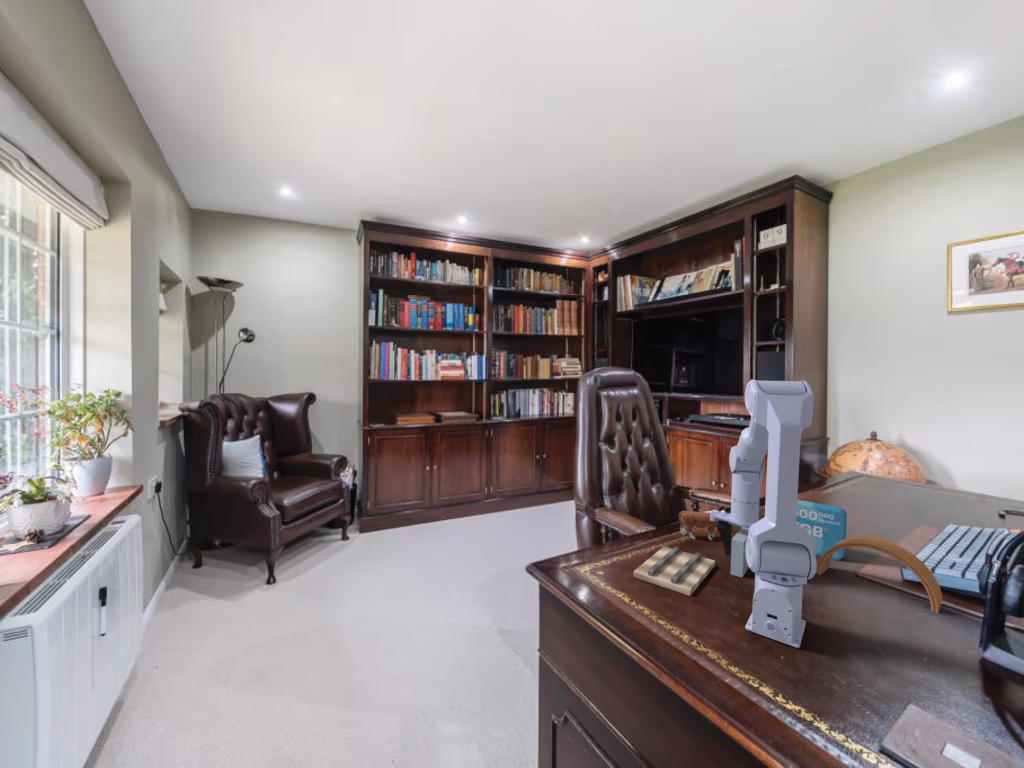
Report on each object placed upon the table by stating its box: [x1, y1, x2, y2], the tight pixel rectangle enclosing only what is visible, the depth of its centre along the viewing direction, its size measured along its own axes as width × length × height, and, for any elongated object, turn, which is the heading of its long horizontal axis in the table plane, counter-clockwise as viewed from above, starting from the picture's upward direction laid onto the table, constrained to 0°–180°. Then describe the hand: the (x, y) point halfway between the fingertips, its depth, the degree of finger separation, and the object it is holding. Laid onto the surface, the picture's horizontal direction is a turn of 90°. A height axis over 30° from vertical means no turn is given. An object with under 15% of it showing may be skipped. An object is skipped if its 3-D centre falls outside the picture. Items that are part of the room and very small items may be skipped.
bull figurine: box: [678, 509, 728, 541], centre depth 117 cm, size 4×13×8 cm, turn 78°
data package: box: [796, 499, 848, 561], centre depth 110 cm, size 12×4×12 cm, turn 48°
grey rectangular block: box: [730, 527, 749, 578], centre depth 100 cm, size 12×2×8 cm, turn 140°
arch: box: [815, 536, 943, 614], centre depth 92 cm, size 6×20×10 cm, turn 38°
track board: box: [632, 546, 716, 597], centre depth 98 cm, size 18×12×2 cm, turn 140°
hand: (742, 557), depth 101 cm, fingers open, 6 cm apart
